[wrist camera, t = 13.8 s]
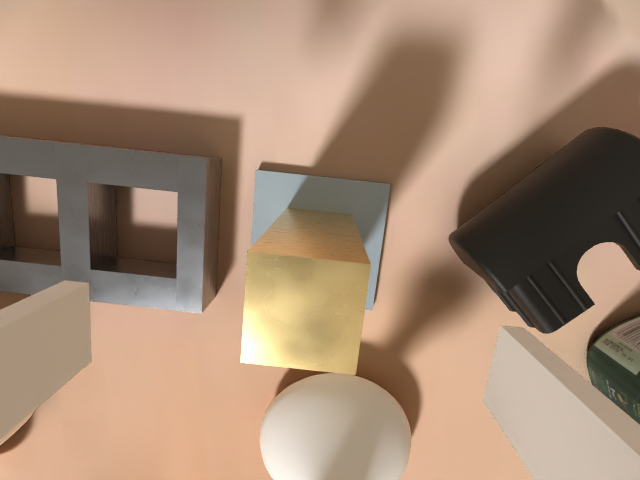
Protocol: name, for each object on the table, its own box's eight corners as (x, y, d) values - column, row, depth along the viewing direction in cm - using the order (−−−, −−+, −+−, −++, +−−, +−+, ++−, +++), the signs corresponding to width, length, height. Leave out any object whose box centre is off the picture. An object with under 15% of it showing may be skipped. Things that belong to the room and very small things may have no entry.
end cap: (557, 130, 24) (645, 118, 17) (614, 212, 25) (718, 232, 18) (433, 227, 25) (469, 251, 19) (491, 300, 26) (545, 347, 20)
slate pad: (249, 293, 27) (247, 296, 26) (257, 169, 25) (256, 169, 24) (371, 306, 27) (372, 310, 26) (389, 183, 25) (390, 184, 24)
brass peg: (282, 269, 25) (240, 362, 14) (287, 207, 24) (247, 251, 13) (344, 275, 25) (355, 375, 14) (351, 214, 24) (371, 264, 13)
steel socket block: (-26, 270, 27) (-69, 284, 24) (-41, 130, 25) (-91, 126, 22) (215, 296, 27) (201, 313, 24) (221, 158, 25) (206, 158, 22)
